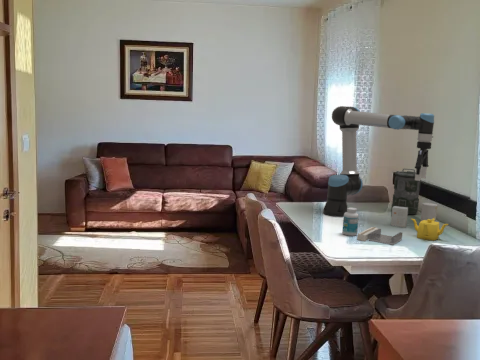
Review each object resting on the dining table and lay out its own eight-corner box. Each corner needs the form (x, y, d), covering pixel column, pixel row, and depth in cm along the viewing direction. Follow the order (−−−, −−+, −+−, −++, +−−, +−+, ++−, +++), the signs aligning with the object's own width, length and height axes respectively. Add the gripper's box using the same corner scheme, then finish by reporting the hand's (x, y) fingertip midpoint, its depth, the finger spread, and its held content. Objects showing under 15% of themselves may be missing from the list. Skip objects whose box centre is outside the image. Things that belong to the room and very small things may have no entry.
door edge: (357, 239, 264) (357, 232, 264) (370, 232, 281) (371, 226, 280) (364, 241, 262) (365, 234, 261) (378, 234, 279) (378, 227, 278)
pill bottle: (340, 232, 278) (342, 206, 276) (354, 232, 278) (356, 207, 277) (344, 236, 270) (346, 209, 269) (358, 236, 271) (361, 210, 269)
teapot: (423, 241, 268) (425, 222, 267) (407, 234, 282) (409, 216, 281) (448, 241, 272) (450, 222, 271) (432, 234, 286) (434, 216, 284)
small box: (406, 225, 303) (408, 207, 301) (405, 227, 298) (407, 209, 296) (392, 223, 306) (393, 205, 305) (390, 225, 301) (392, 207, 300)
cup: (436, 227, 304) (438, 206, 303) (421, 225, 306) (423, 204, 304) (434, 224, 312) (436, 203, 310) (419, 222, 314) (421, 202, 312)
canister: (390, 213, 338) (394, 168, 334) (392, 209, 353) (396, 166, 349) (416, 216, 333) (421, 171, 329) (417, 211, 347) (422, 168, 343)
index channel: (369, 240, 264) (369, 233, 263) (378, 235, 276) (378, 228, 275) (393, 245, 258) (394, 237, 257) (401, 239, 269) (402, 232, 269)
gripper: (426, 142, 286) (422, 182, 289) (436, 141, 308) (431, 178, 311) (412, 141, 290) (407, 180, 293) (422, 140, 311) (418, 176, 315)
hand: (420, 179), depth 302 cm, fingers open, 13 cm apart
